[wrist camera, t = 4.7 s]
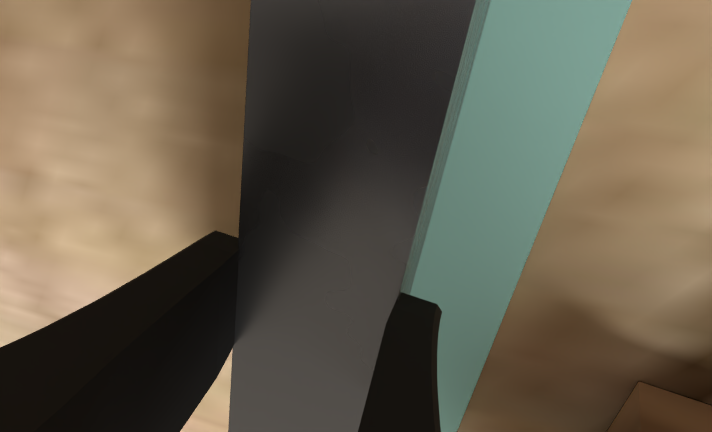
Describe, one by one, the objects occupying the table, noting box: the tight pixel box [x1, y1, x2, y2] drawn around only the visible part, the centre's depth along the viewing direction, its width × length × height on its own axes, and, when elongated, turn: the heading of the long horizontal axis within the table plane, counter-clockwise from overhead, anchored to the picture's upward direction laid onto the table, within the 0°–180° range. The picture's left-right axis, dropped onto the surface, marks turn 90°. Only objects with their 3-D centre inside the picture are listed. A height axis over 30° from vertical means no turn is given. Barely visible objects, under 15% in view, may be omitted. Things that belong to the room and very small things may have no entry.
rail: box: [228, 0, 491, 432], centre depth 12 cm, size 16×3×3 cm, turn 171°
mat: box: [410, 0, 632, 432], centre depth 15 cm, size 20×7×1 cm, turn 171°
